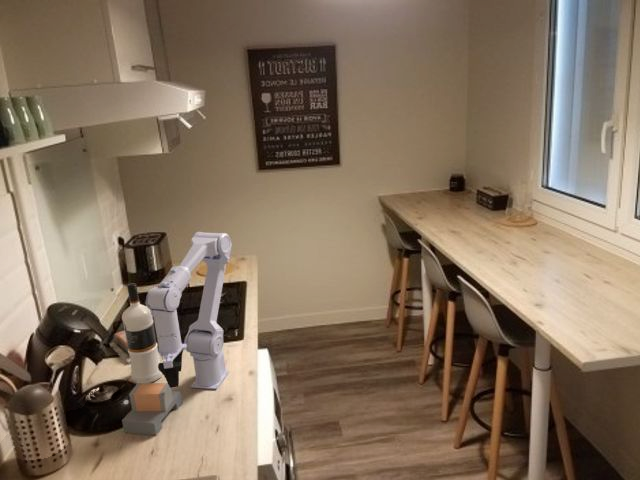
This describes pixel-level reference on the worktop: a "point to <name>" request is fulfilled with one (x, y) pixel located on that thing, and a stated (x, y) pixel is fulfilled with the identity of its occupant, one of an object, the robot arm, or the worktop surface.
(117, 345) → the packaged product
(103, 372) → the worktop surface
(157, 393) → the block
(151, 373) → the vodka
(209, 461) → the worktop surface
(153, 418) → the stand
